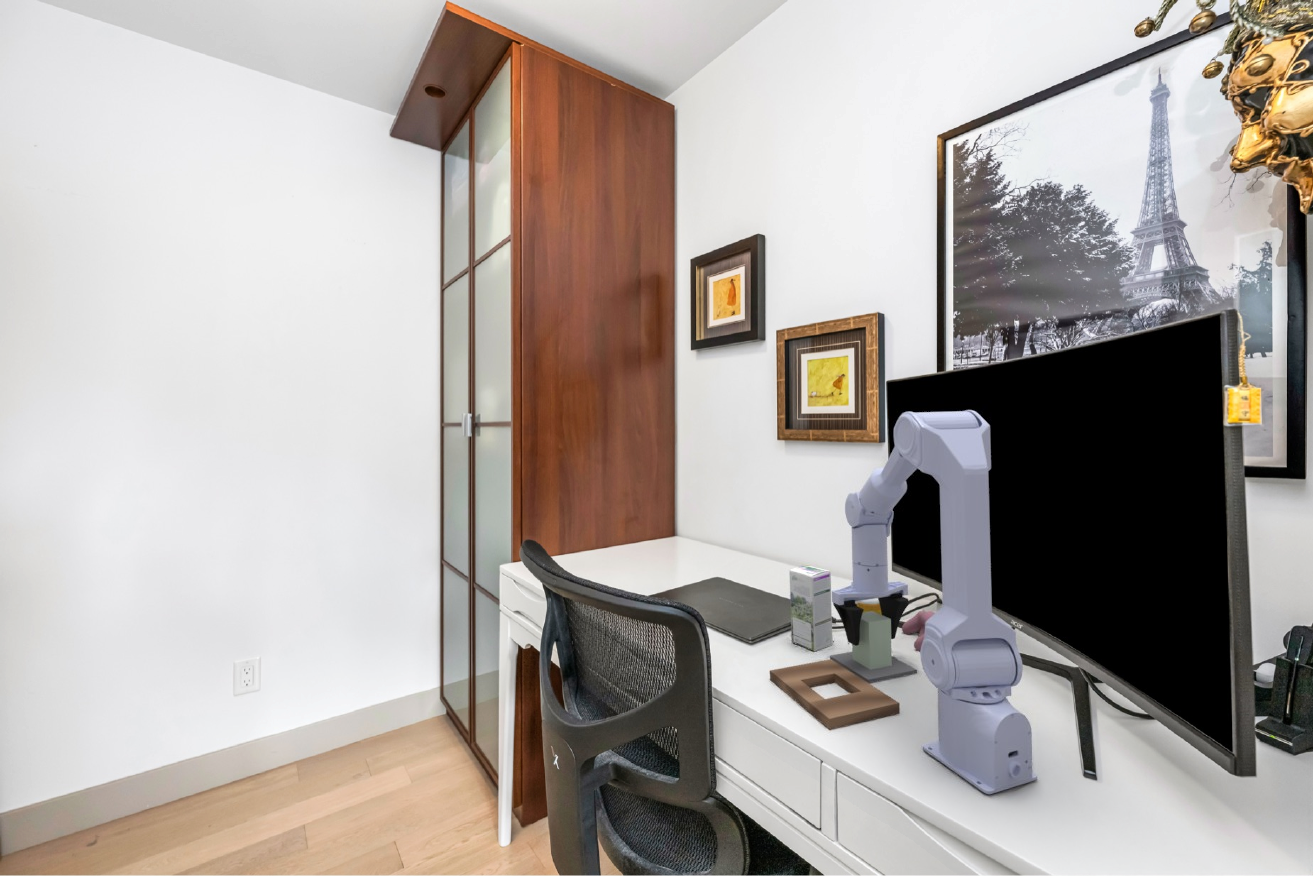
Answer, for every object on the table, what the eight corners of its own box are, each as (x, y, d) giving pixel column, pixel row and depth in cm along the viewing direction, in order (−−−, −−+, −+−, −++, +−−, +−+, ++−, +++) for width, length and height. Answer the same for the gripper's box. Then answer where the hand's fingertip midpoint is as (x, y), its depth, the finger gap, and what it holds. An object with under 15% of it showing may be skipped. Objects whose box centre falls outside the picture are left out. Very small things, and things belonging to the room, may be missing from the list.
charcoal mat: (917, 673, 90) (917, 669, 90) (868, 683, 86) (868, 679, 86) (875, 650, 99) (875, 647, 99) (829, 658, 96) (829, 655, 96)
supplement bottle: (848, 628, 110) (847, 582, 110) (871, 625, 111) (870, 580, 111) (864, 638, 105) (863, 589, 105) (888, 635, 106) (887, 587, 106)
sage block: (891, 665, 91) (890, 619, 91) (870, 669, 90) (869, 622, 90) (873, 655, 96) (872, 610, 96) (852, 659, 94) (851, 614, 94)
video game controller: (937, 661, 97) (955, 628, 97) (913, 649, 98) (930, 616, 97) (920, 640, 107) (936, 610, 106) (898, 629, 108) (914, 599, 107)
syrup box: (833, 644, 102) (832, 569, 102) (813, 652, 99) (811, 574, 99) (810, 635, 107) (808, 563, 107) (790, 643, 104) (788, 568, 103)
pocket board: (899, 713, 77) (899, 702, 77) (829, 729, 74) (829, 718, 74) (830, 667, 92) (830, 659, 92) (770, 679, 89) (769, 670, 89)
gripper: (887, 553, 99) (888, 626, 99) (820, 561, 94) (822, 637, 94) (916, 562, 92) (918, 640, 92) (846, 571, 87) (848, 653, 88)
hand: (871, 640), depth 93 cm, fingers open, 7 cm apart
